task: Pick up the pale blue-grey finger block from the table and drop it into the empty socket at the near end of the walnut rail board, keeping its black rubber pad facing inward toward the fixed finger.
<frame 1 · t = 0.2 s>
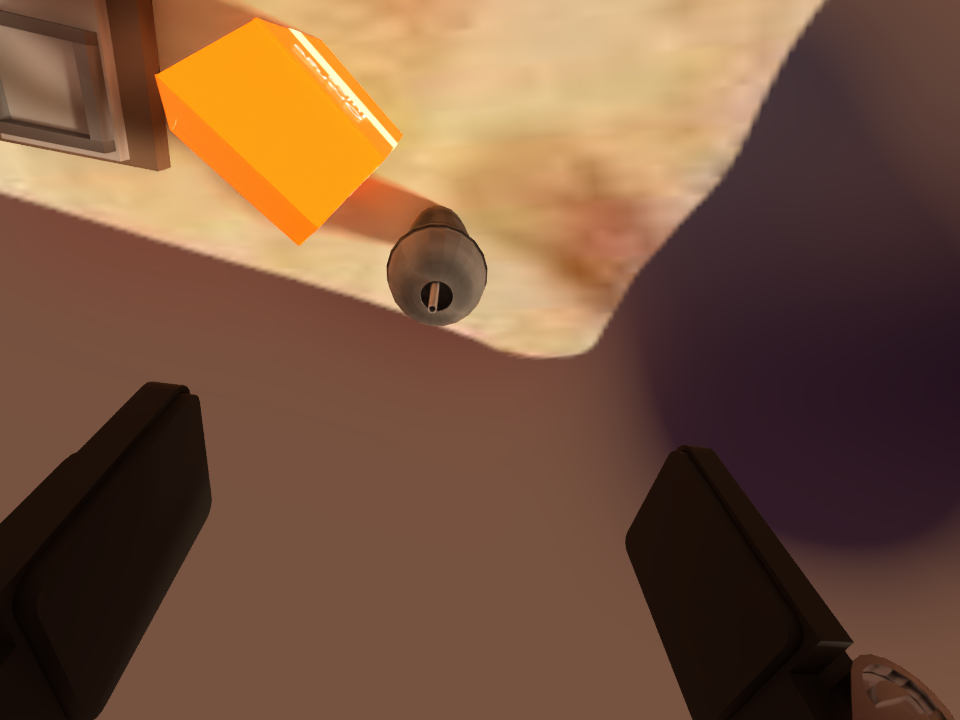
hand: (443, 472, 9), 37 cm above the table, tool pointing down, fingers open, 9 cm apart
orange juice: (333, 124, 38), on the table
beverage cup: (438, 230, 44), on the table
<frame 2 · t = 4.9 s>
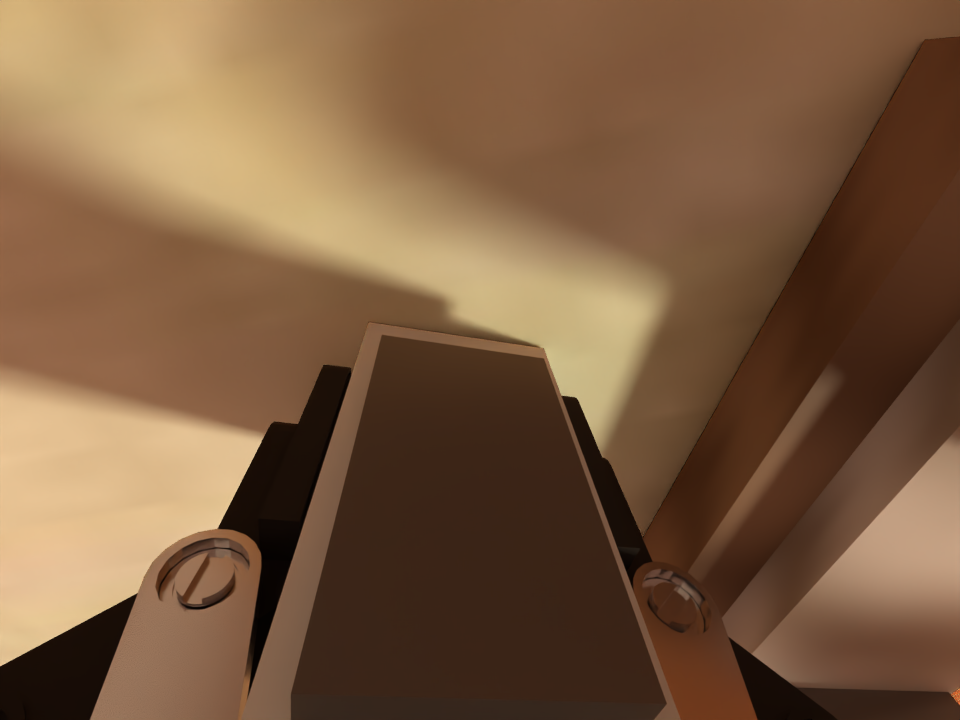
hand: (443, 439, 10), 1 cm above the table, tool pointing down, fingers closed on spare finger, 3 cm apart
rail board: (828, 528, 15), on the table
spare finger: (444, 406, 11), on the table, touching gripper
when the fingers open (6 cm above the table, at t = 11.5 s): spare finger drops 2 cm, resting on rail board.
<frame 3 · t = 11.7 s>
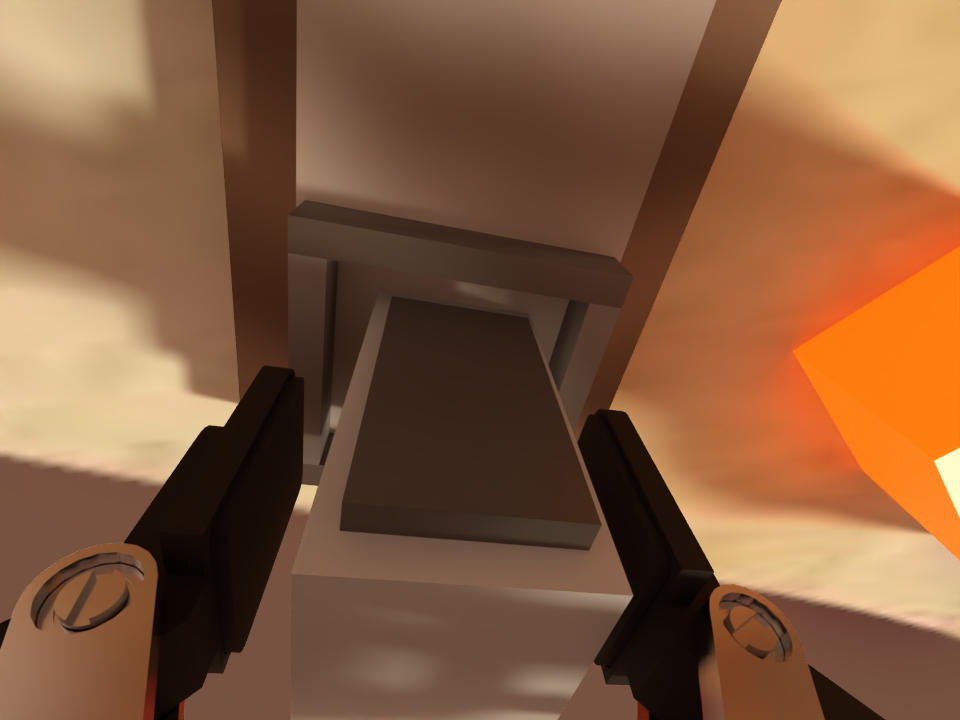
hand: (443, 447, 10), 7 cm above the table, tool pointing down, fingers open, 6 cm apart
orange juice: (917, 361, 19), on the table
rail board: (485, 79, 12), on the table
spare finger: (443, 366, 13), point 3 cm above the table, touching rail board
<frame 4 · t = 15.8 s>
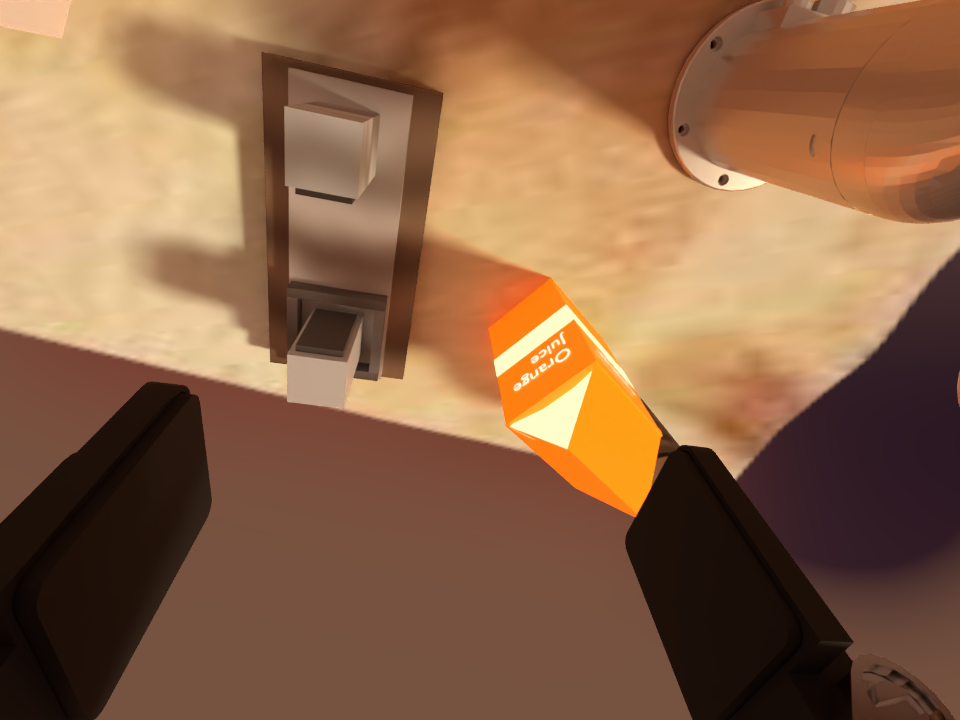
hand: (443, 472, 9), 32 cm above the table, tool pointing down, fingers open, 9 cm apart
orange juice: (546, 333, 45), on the table
rail board: (349, 238, 39), on the table
beverage cup: (617, 403, 50), on the table
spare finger: (338, 330, 40), point 3 cm above the table, touching rail board
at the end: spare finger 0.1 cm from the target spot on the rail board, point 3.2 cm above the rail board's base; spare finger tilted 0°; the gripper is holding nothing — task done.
